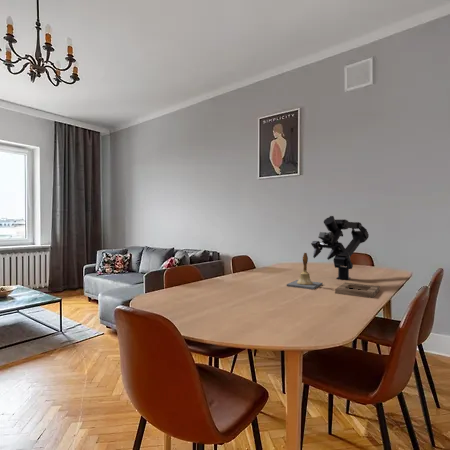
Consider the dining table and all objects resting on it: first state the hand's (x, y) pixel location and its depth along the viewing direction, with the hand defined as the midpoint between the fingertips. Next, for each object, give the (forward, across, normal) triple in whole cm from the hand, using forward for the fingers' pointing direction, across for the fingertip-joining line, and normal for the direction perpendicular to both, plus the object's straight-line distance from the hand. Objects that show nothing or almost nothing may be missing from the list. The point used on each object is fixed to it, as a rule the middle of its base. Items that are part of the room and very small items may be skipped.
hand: (320, 258), depth 167 cm
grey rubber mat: (+17, -2, +2) cm, 17 cm away
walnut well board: (+11, +23, +8) cm, 27 cm away
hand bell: (+17, -2, +1) cm, 17 cm away
